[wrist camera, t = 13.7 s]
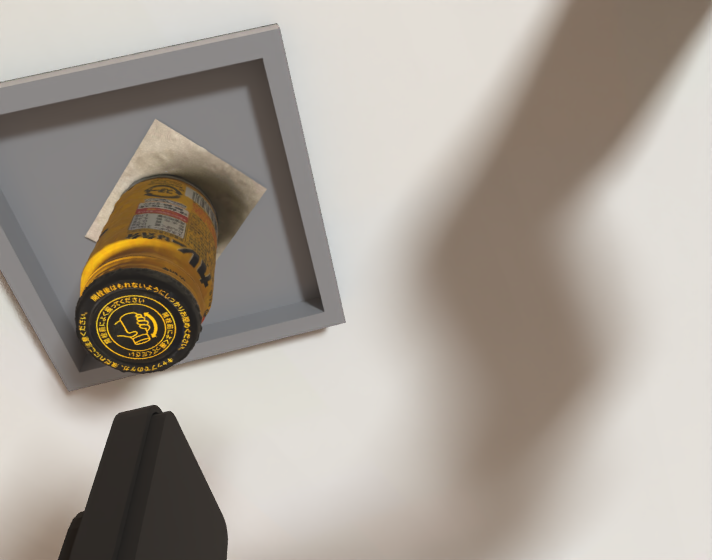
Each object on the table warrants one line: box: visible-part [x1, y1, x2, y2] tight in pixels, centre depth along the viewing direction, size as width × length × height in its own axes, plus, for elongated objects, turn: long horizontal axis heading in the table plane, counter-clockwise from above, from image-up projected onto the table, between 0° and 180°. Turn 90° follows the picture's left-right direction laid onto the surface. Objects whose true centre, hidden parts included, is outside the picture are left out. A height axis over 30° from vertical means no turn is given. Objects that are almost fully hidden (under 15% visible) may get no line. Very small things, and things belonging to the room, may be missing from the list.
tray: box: [0, 23, 346, 391], centre depth 35 cm, size 18×18×2 cm
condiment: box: [75, 119, 267, 374], centre depth 30 cm, size 7×8×12 cm
